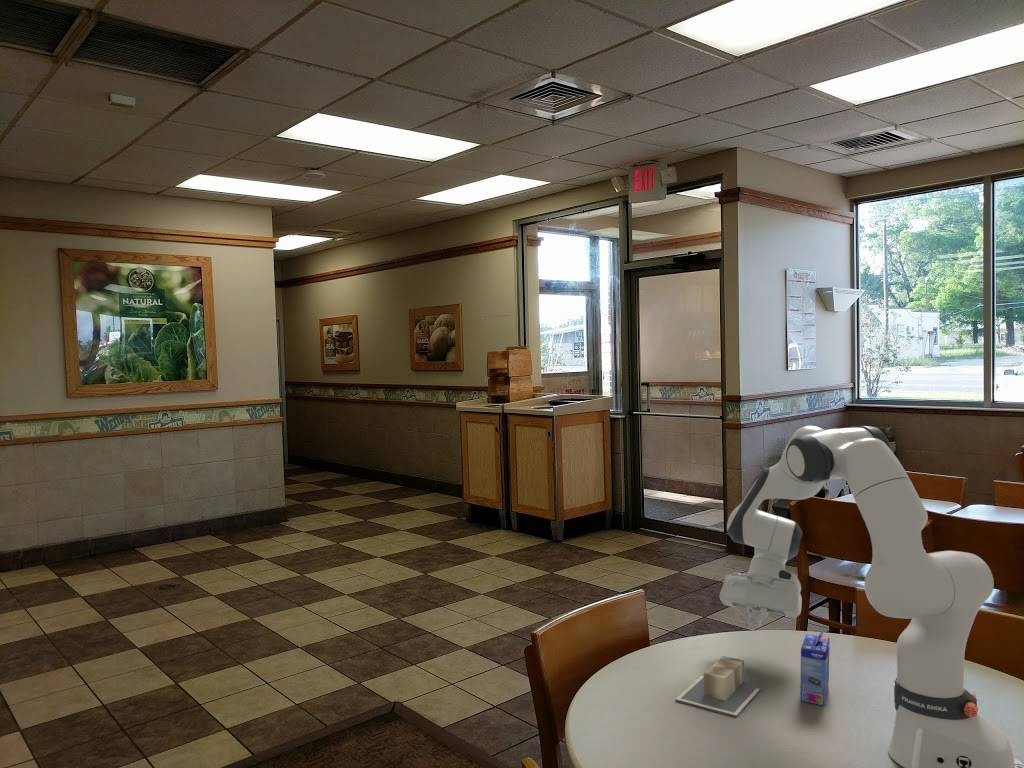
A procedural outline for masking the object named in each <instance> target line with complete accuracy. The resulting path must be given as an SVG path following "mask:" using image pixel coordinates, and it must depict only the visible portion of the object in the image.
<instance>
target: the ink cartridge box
mask: <svg viewBox="0 0 1024 768" xmlns="http://www.w3.org/2000/svg"><path fill="white" fill-rule="evenodd" d="M823 634H824V630H822V631H821V632H819V634H818V635H814V634H807V633H806V634H805V637H804V640H803V643H802V645H801V648H800V673H799V674H800V684H799V686H800V687H799V688H800V689H799V690H800V691H799V695H800V696H799V700H800V701H801V702H806V703H810V704H815V705H818V706H825V705H826V702H827V698H828V695H829V691H830V690H829V689H830V688H829V687H830V686H829V683H830V682H829V681H830V638H829V637H825V636H823Z"/></svg>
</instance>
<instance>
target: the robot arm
mask: <svg viewBox="0 0 1024 768" xmlns="http://www.w3.org/2000/svg"><path fill="white" fill-rule="evenodd" d="M833 480H834V481H835V480H836V481H837V480H845V482H846V483H847V485H848V488H849V490H850V493H851V494H852V497H853V499H854V502H855V503H856V505H857V508H858V510H859V512H860V515H861V517H862V520H863V521H864V523H865V527H866V528H867V531H868V533H869V537H870V542H871V548H872V558H871V564H870V567H869V569H868V570H867V572H866V575H865V577H864V584H863V585H864V591H865V596H866V597H867V598H866V599H867V600H868V602H869V603H870V605H871V606H872V607H873V609H874V610H875V611H876V612H877V613H879V614H880V615H883V616H884V617H888V618H893V619H894V618H896V619H908V620H910V619H911V620H910V623H909V624H908V625H907V627H906V628H905V629H904V630H903V631H902V632H901V633H900V635H899V636H898V638H897V642H896V678H895V680H894V684H893V704H894V709H895V718H894V725H893V732H892V736H891V739H890V742H889V746H888V748H887V749H888V750H887V751H888V754H889V756H890V758H891V759H892V760H893V761H895V762H896V763H897V764H898V765H900V766H901V767H903V768H1024V763H1023V762H1022V761H1020V760H1019V759H1017V758H1015V757H1014V752H1013V749H1012V746H1011V744H1010V742H1009V739H1008V737H1007V736H1006V734H1004V732H1002V730H999V728H997V727H996V726H995V725H994V724H992V723H991V722H989V721H988V720H987V719H986V718H985V717H983V715H981V714H980V713H979V707H978V699H977V695H976V692H975V691H973V693H971V692H970V691H968V690H967V689H966V688H965V685H964V683H965V653H966V652H965V651H966V647H967V642H968V639H969V636H970V632H971V629H972V626H973V624H974V621H975V619H976V616H977V614H978V612H979V610H980V609H981V608H982V605H983V604H984V603H986V601H987V600H988V599H989V598H990V597H991V596H992V593H993V591H994V587H995V585H994V584H995V582H994V576H993V573H992V570H991V568H990V566H989V565H988V564H987V563H986V561H984V560H983V559H982V558H981V557H979V555H977V554H974V553H970V552H966V551H965V552H964V551H960V550H959V551H957V550H944V551H943V550H941V551H934V552H929V553H927V552H926V550H925V548H924V547H925V546H924V544H923V540H922V530H923V529H924V528H925V527H926V526H927V523H928V520H929V519H928V518H929V516H928V511H927V510H926V508H925V506H924V504H923V503H922V500H921V498H920V496H919V494H918V491H916V488H915V486H914V484H913V482H912V480H911V479H910V477H909V475H908V473H907V472H906V469H904V466H903V465H902V464H901V462H900V460H899V459H898V457H897V456H896V455H895V453H894V452H893V451H892V448H891V444H890V441H889V439H888V438H887V436H886V435H885V433H884V432H883V431H882V430H881V429H880V428H878V427H875V426H871V425H870V426H868V425H857V426H855V427H842V428H830V429H824V428H822V427H821V426H820V427H819V426H816V425H806V426H801V427H800V428H798V429H796V431H795V432H794V433H793V434H792V436H791V437H790V438H789V441H788V442H787V444H786V446H785V448H784V450H783V451H782V455H781V458H780V459H779V461H778V462H777V463H776V464H774V465H772V466H770V467H765V468H762V469H761V470H760V472H759V473H758V474H757V475H756V476H755V478H754V480H753V482H751V484H750V486H749V487H748V489H747V490H746V492H745V494H744V495H743V497H742V498H741V500H740V501H739V503H738V504H737V505H736V506H735V508H734V509H733V510H732V511H731V513H730V515H729V516H728V518H727V519H728V520H727V523H726V531H727V535H728V536H729V537H730V539H731V540H732V542H734V543H738V544H742V545H747V546H750V547H753V548H754V549H753V551H754V555H753V556H752V559H751V560H750V561H751V562H750V564H749V568H748V572H747V573H737V572H731V573H728V574H726V575H725V577H724V580H723V585H722V587H721V589H720V593H719V599H720V601H721V602H722V604H723V605H724V606H728V607H734V608H740V609H745V610H746V613H747V615H748V618H747V624H748V625H749V626H753V627H759V628H760V627H761V626H762V622H764V621H765V619H767V618H768V616H769V614H774V615H780V616H784V617H785V616H787V617H792V618H798V617H799V616H800V615H801V612H802V607H803V606H802V604H803V599H802V595H801V592H802V591H801V590H802V585H801V582H800V580H799V579H798V576H797V575H796V574H795V573H793V572H791V571H789V570H786V564H787V562H788V561H789V560H792V559H793V558H795V557H796V556H798V554H799V551H800V544H801V539H802V537H803V531H802V529H801V527H800V525H799V524H798V523H797V522H796V521H794V520H792V519H789V518H786V517H782V516H779V515H775V514H772V513H770V512H766V511H763V510H761V509H759V507H760V505H762V502H763V501H765V500H768V499H769V500H770V499H782V500H794V501H802V500H807V499H810V498H813V497H814V496H815V495H817V494H818V493H819V492H820V491H821V489H822V488H823V487H824V485H825V483H826V481H833ZM755 611H757V612H761V613H760V614H759V615H758V616H753V615H752V614H754V613H755Z"/></svg>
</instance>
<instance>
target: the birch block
mask: <svg viewBox="0 0 1024 768" xmlns="http://www.w3.org/2000/svg"><path fill="white" fill-rule="evenodd" d="M703 674H704V695H706V696H710V697H714V698H718V699H721V700H725V701H726V700H727V699H728V698H729V697H730V695H731V694H732V693H733V692H734V691H735V690H736V689H737V688H738V687H739V686H740V685H741V684H744V682H745V660H744V659H739V658H736V657H735V658H734V657H730V656H725V655H722V656H721V657H720V658H719V659H718V660H717V661H716V662H715V663H714V664H712V665H711V666H710V667H709V668H708V669H707V670H705V671H704V672H703Z"/></svg>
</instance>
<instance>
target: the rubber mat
mask: <svg viewBox="0 0 1024 768" xmlns="http://www.w3.org/2000/svg"><path fill="white" fill-rule="evenodd" d="M761 691H762V688H761V687H757V686H753V685H749V684H744V683H742V684H741V685H740V686H739V687H738V688H737V689H736V690H735V691H734V692H733V693H732V694H731V695H730V697H729V698H728V699H727V700H726V701H725V700H721V699H718V698H714V697H710V696H706V695H704V673H703V674H701V676H699V677H698V678H697V679H696V680H695V681H694V682H692V683H691V684H690V685H689V686H688V687H687V688H686V689H685V690H683V691H682V693H680V694H679V695H678V696H677V697H676V698H675V699H674V701H675V702H678V703H680V704H681V703H682V704H684V705H688V706H692V707H696V708H700V709H703V710H707V711H711V712H715V713H718V714H722V715H726V716H729V717H734V718H738V717H739V716H740V715H741V713H742V712H743V711H744V710H745V708H747V706H748V705H749V704H750V703H751V702H752V701H753V700H754V699H755V698H756V697H757V695H758V694H759V693H760V692H761Z"/></svg>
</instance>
